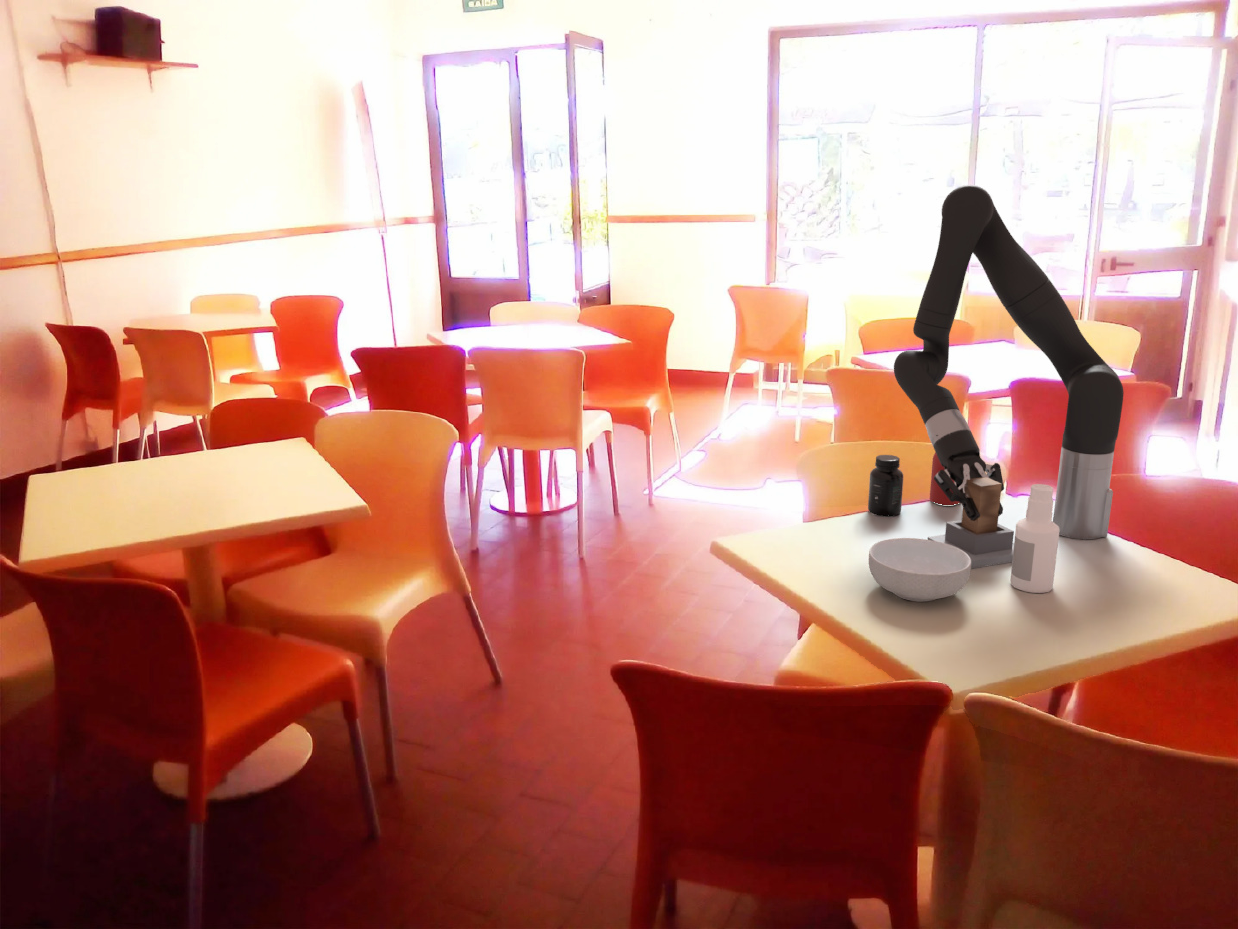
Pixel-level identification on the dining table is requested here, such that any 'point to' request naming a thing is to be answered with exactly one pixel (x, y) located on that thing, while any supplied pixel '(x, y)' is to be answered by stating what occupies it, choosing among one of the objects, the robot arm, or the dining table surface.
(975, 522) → the walnut peg
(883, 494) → the supplement bottle
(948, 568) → the cereal bowl
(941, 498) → the beer can
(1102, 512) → the robot arm
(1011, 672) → the dining table surface
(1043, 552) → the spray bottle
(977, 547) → the socket pad
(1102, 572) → the dining table surface
